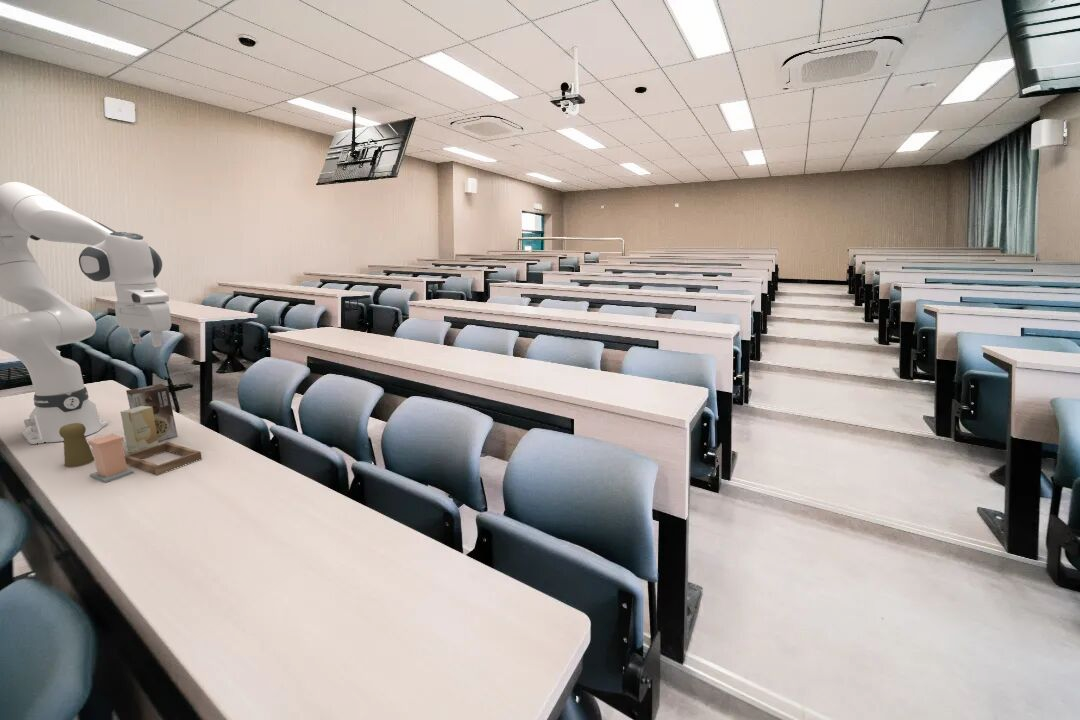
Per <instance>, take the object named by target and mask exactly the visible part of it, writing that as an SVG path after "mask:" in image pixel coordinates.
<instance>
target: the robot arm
mask: <svg viewBox="0 0 1080 720" xmlns="http://www.w3.org/2000/svg"><path fill="white" fill-rule="evenodd" d="M29 239H31V240H33V241H39V240H43V241H48V242H54V243H55V242H57V243H67V244H68V243H69V244H81V245H87V247H85V248H84V249H82V251H81V252H80V254H79V256H78V265H79V267H80V270H81V272H82V273H83V274H84V276H86V278H88V279H90V280H91V281H93V282H98V283H113V282H114V289H115V294H116V301H115V303H114V309H115V311H114V312H115V318H116V319H115V321H116V323H117V325H118V327H120V328H125V329H127V333H128V334H129V336H130V338H131V341H132V344H133V345H141V344H143V342H144V341H143V337H142V336H141V335H140V332H139V331H140V330H142V331H149V332H150V334H151V336H152V338H151V340H150V344H151V347H153V348H160V347H162V345H163V344H162V337H163V334H164V333H163V332H165V331H170V329H171V327H172V319H171V318H172V317H171V310H170V306H169V304H168V303H167V302H169V301H170V297H169V294H168V293H167V292H166V291H164V290H162V289H161V288H160V287H158V284H157V280H156V278H157V277H158V276H159V275H160V273H161V271H162V269H163V260H162V258H161V256H160V255H159V253H158V252H157V251H156V250H155V249H154V248H153V247H151V246H150V245H149V243H148V242H147V241H148V240H147V239H146V237H144V236H142V235H141V234H138V233H135V232H133V233H132V232H124V231H116V230H114V229H112V228H110V227H108V226H107V225H105V224H103V223H101V222H98V221H96V220H94V219H92V218H90V217H88V216H85V215H83V214H81V213H79V212H77V211H75V210H73V209H72V208H70V207H68V206H66V205H64V204H62V203H61V202H59V201H58V200H56V199H54V197H52V196H50V195H49V194H47V193H45V192H44V191H42V190H40V189H38V188H36V187H34V186H32V185H29V184H27V183H24V182H22V181H21V182H20V181H10V182H5V183H2V184H1V185H0V297H1V298H2V300H5V301H7V302H9V303H11V304H16V305H18V306H21V307H23V308H24V309H25V310H26V311H28V312H20V313H19V312H18V313H13V314H9V315H5V316H3V317H0V350H1V352H2V351H3V352H6V353H8V354H11V355H12V356H13V357H15V358H16V359H18V360H19V361H20V362H21V363H22V364H23V365H24V366H25V368H26V369H27V372H28V374H29V377H30V379H31V382H32V383H31V384H32V387H33V390H34V395H33V405H34V406H35V407H34V408H33V410H32V411H31V413H30V414H29V415H28V417H29V418H27V419H24V420H23V424H24V426H25V428H26V429H25V430H22V433H21V434H22V436H23V435H24V436H23V437H24V438H25V440H26V439H27V440H26V441H27V443H28V444H29V443H30V444H29V445H37V443H38V444H44V442H46V443H56V442H64V438H63V437H61V436H60V434H59V430H60V428H61V427H62V426H64V425H68V424H72V423H81V424H83V425H84V426H85V428H86V431H85V433H84V435H85V437H86V436H89V435H92V434H95V433H96V432H99V431H100V429H102V428H103V427H106V426H107V425H108V424H107V423H108V422H107V421H105V420H104V421H103V420H101V418H100V417H101V416H100V414H99V411H98V407H97V404H96V402H95V401H92V400H90V399H89V391H88V389H87V387H86V386H85V385H84V384H85V383H84V379H83V376H82V370H81V366H80V365H79V364H78V362H76V361H75V360H73V359H70V358H66V357H63V356H61V355H60V353H59V352H58V350H57V347H59V346H64V345H68V344H74V343H75V344H76V343H78V342H81V341H83V340H86V339H89V338H91V337H92V336H94V335H95V333H96V330H97V322H96V319H95V318H94V316H93V314H91V313H90V312H89V311H88V310H86V309H83V308H81V307H78V306H76V305H74V304H72V303H71V302H69V301H68V300H66V299H65V298H64V297H62V296H61V295H60V294H59V293H58V292H57V291H56V290H55V288H54V287H52V285H51V284H50V283H49V282H48V280H47V278H46V275H44V273H43V271H42V270H41V267H40V266H39V264H38V263H37V261H36V259H35V257H34V255H33V254H32V253H31V251H30V249H29V247H28V240H29ZM27 428H28V429H27Z"/></svg>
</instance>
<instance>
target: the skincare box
mask: <svg viewBox="0 0 1080 720" xmlns="http://www.w3.org/2000/svg"><path fill="white" fill-rule="evenodd" d="M120 417H121V421H122V428H123V435H124V441H125V444H126V451H127V452H128V453H134V452H137V451H141V450H144V449H147V448H150V447H153V446H156V445H160V443H159V441H158V438H157V432H156V426H155V420H154V414H153V408H152V407H149V406H139V407H136V408H132V409H130V408H128V409H126V410H123V411H122V410H121V411H120Z"/></svg>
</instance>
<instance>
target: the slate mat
mask: <svg viewBox="0 0 1080 720" xmlns="http://www.w3.org/2000/svg"><path fill="white" fill-rule="evenodd" d="M132 473H133V474H134V473H135V471H134V470H133V469H129V468H127V471H124V472H121V473H118V474H115V475H112V476H109V477H104V476H102V475H99V474H98V473H97V471H95V472H92V473H89V477H91V478H93V479H96V480H99V481H101V482H103V483H110V482H111V481H115V480H117V479H121V478H123V477H126V476H127V477H128V476H129V475H132Z"/></svg>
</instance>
